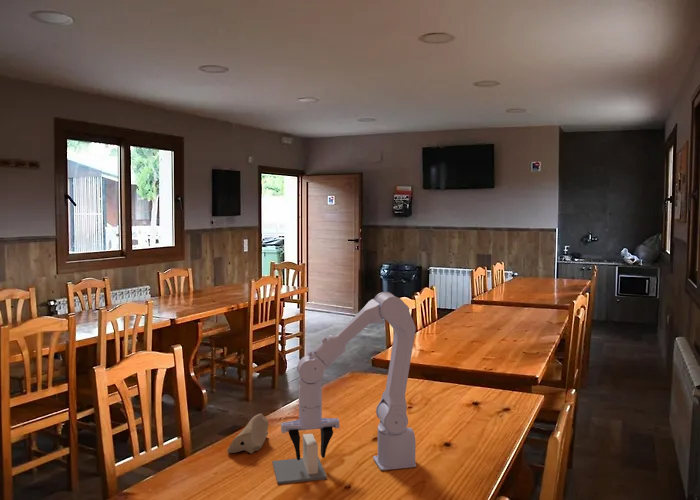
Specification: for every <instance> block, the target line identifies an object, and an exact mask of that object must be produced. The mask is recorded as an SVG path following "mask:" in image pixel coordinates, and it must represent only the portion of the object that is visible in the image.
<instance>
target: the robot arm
mask: <svg viewBox="0 0 700 500" xmlns="http://www.w3.org/2000/svg"><path fill="white" fill-rule="evenodd" d="M382 319H384V320H385V321H387V323H389V325H390V326H391V327H392V329H393V330H394V334H393V335H394V336H393V341H392V348H391V353H390V358H389V359H390V360H389V365H388V370H387V371H388V372H387V377H386V378H387V379H386V385H385V389H384V391H383V392H382V395H381V398H380V401H379V402H378V404H377V405H376V408H375V409H376V410H375V413H376V417H377V418H378V420H379V423H378V426H377V455H373V456H372V459H373V460H374V462H375V464H376V466H377V467H378V468H379V470H380V471H389V470H399V469H409V468H416V467H417V464H416V451H417V450H416V448H417V447H416V443H417V442H416V435H415V432H414V430H413V428H412V427H408V424H409V418H408V415H407V407H408V406H407V405H408V404H407V400H406V392H407V385H408V378H409V372H410V367H411V362H412V361H411V359H412V355H413V348H414V342H415V337H416V336H415V335H416V325H415V322H414V320H413V319H414V318H413V317H412V315H411V313H410V308H409V306H408V304H406V303H405V302H404V301H403V299H401V298H400V297H398V296H395V295H394V294H392V292H389V291H382V292H379V293H378V294H376V295H375V297H374V298H372V299H370V300H368V302H367V303H366V304H365V305H364V307H362V309H360V310H359V311H358V313H356V314H355V315H354V317H353V318H352V319H350V321H349V322H348V323H347V324H346V325H345V326H344V327H343V328H342V329H341V330H340V331H339V332H338V333H337V334H329V335H328V336H327V337H326V336H325V335H324V336H323V337H322V338H320V339H321V342H320V343H319V344H318V345H317V346H316V347H315V348H314V349H313V350H309V351H308V352H307V355H305V356H303V357H301V358H300V360H299V361H298V364H297V366H296V369H297V372H298V374H299V376H298V377H299V380H298V384H299V385H298V419H295V420H291V421H285V422H281V423H280V431H281V433H282V434H286V433H288V435H289V438H290V440H291V441H292V445H293V446H294V450H295V457H296V458H295V459H297V460H300V458H301V448H300V447H301V446H300V445H301V444H300V443H301V436H300V432H299V431H307V430H308V431H311V430H319V429H320V456H321V458H323V459H325V457H326V452H327V448H328V445H329V443H330V440H331V439H332V437H333V435H334V429H340V419H339V418H338V417H337V418H336V417H332V418H329V417H322V415H323V414H322V410H323V409H322V408H323V407H322V406H323V405H322V400H323V399H322V394H323V393H322V390H323V389H322V379H323V376H324V372H325V370H327V369H329V367H331V366H332V364H334V363H335V362H336V361H337V360H338V359H339V358H340V357H341V356H342V355H344V353H345V352H346V346H347V344H348V343H350V341H351V340H353V339H354V338H355V337H356V336H358V335H359V334H360V333H361V332H362V331H363V330H365V329H366V328H367V327H368V326H369V325H372V324H383V323H384V322H383V320H382ZM333 428H334V429H333Z"/></svg>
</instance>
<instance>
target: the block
mask: <svg viewBox="0 0 700 500" xmlns="http://www.w3.org/2000/svg"><path fill="white" fill-rule="evenodd" d="M318 450H319V445H318V443H317V440H316V439H315V437H314V434H313V433H305V434H304V433H303V434H302V458H303V462H304V465H305V468H306V470H307V473H308V474H316V473H318V457H319V451H318Z"/></svg>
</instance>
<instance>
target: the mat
mask: <svg viewBox="0 0 700 500" xmlns="http://www.w3.org/2000/svg"><path fill="white" fill-rule="evenodd" d="M272 467H273V472H274V476H275V479H276V484H277V485H284V484H292V483H301V482H303V483H304V482H312V481H313V482H314V481H319V480H320V481H322V480H327V479H328V478H327V477H328V476H327V474H326V471H325V469H324V467H323V465H322V463H321V459H320V457H319V456H318V473H316V474H308V473H307V470H306V468H305V465H304V462H303V457H300V460H297V458H288V459H279V460H272Z"/></svg>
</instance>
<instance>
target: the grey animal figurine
mask: <svg viewBox="0 0 700 500" xmlns="http://www.w3.org/2000/svg"><path fill="white" fill-rule="evenodd" d="M268 429H269V420H268V419H267V417H266V416H264V415H263V413H258V414H256V415H254V416H252V418H251V419H250V420H249V421H248V422H247V423H246V425H245V427H244V428H243V429H242V430H241V431H240V432H239V434H238V435H236V436H235V437H234V439H233V440H232V441H231V443H230V444H229V446H228V448H227V451H226V452H227V453H228V454H236V453H240V452H242V451H246V452H248V453H249V454H253V453H255V451H257V452H258V451H259V450H261V449H262V447H263V445H264V444H265V441H266V439H267V436H268V435H269V432H268Z"/></svg>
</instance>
